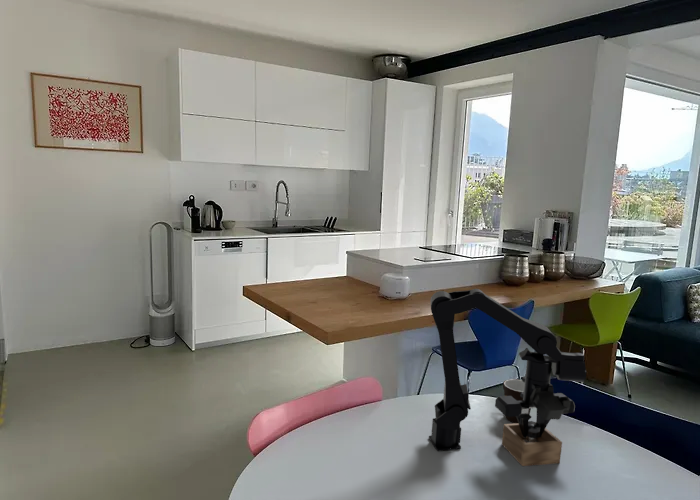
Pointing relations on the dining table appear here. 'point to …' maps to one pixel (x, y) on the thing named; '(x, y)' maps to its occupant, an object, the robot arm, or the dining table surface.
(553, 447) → the wooden square tray
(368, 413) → the dining table surface
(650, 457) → the dining table surface
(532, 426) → the plunger
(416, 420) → the dining table surface
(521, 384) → the coffee mug
